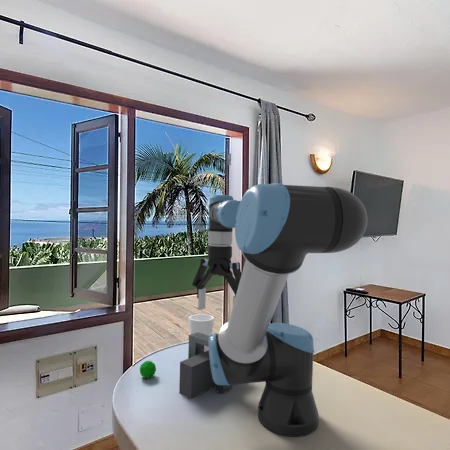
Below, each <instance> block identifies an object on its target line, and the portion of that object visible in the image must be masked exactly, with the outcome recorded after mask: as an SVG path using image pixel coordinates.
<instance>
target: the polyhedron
mask: <svg viewBox="0 0 450 450" xmlns="http://www.w3.org/2000/svg"><path fill="white" fill-rule="evenodd" d="M156 367H157V366H156V364H155V362H153V361H152V360H146V361H144V362H143V363H142V364H141V365H140V367H139V373H140V375H141V377H142V378H145V379H150V378H151V377H153V376H154V375H155V374H156V371H157V368H156Z"/></svg>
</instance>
